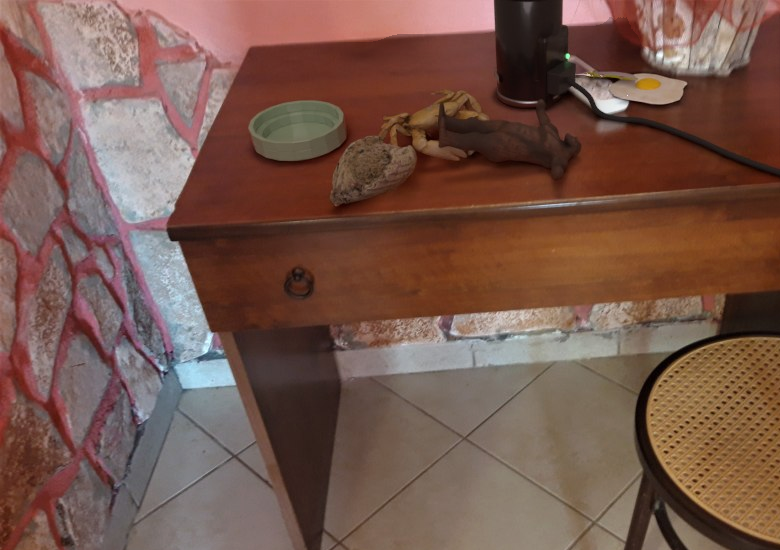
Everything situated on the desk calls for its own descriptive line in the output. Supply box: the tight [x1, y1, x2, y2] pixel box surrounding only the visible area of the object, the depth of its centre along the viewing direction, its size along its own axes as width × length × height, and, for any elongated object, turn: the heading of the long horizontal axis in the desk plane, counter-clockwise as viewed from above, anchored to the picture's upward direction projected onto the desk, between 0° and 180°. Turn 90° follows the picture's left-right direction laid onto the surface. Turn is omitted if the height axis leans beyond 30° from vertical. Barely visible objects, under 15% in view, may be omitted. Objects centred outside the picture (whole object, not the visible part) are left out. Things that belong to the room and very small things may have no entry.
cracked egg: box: [608, 73, 688, 105], centre depth 111 cm, size 10×11×1 cm
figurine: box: [436, 99, 582, 180], centre depth 94 cm, size 18×5×18 cm
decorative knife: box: [583, 69, 638, 82], centre depth 113 cm, size 12×1×5 cm
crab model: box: [377, 89, 491, 162], centre depth 99 cm, size 16×13×6 cm
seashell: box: [329, 135, 418, 207], centre depth 90 cm, size 11×7×10 cm
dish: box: [247, 99, 348, 162], centre depth 101 cm, size 12×12×3 cm
